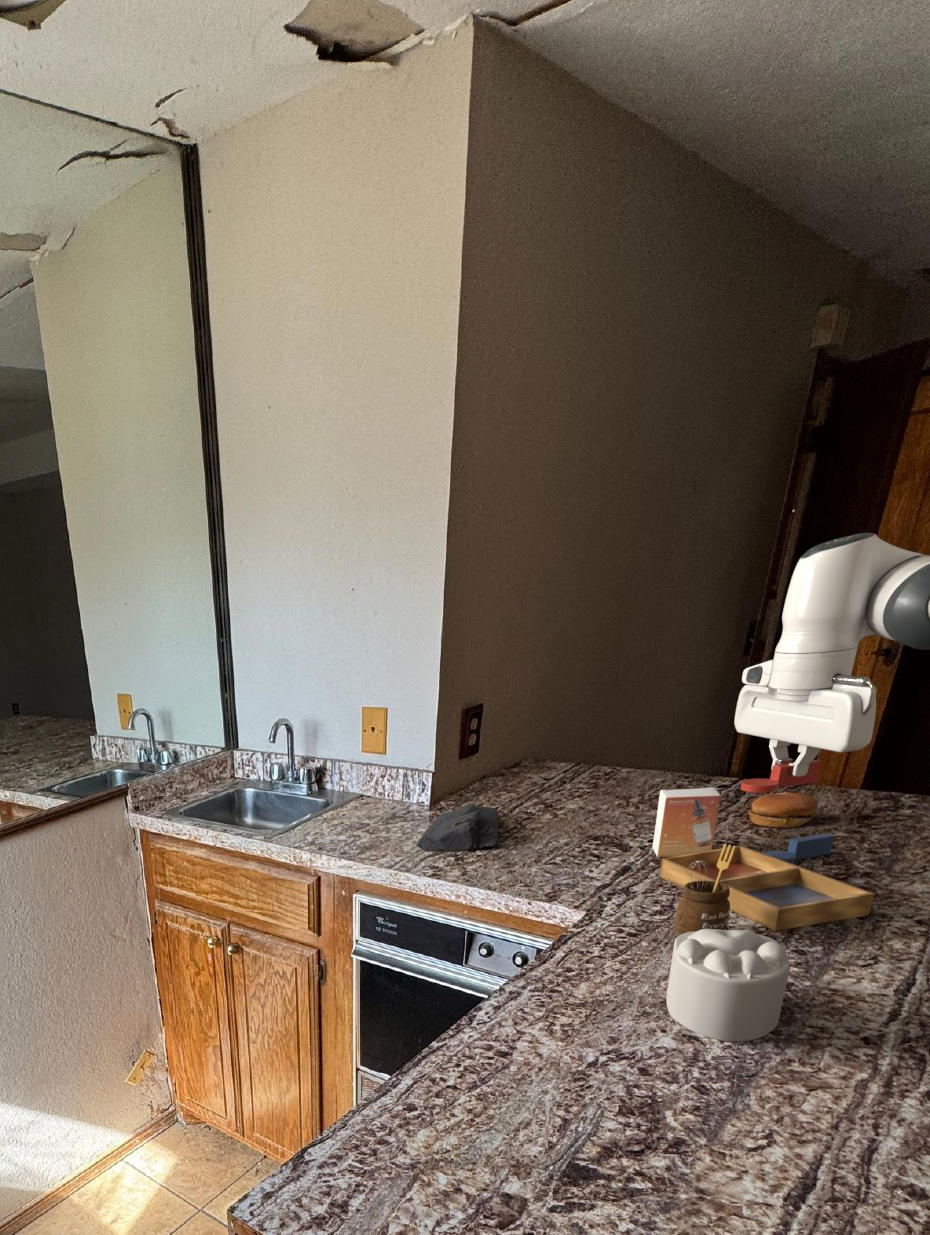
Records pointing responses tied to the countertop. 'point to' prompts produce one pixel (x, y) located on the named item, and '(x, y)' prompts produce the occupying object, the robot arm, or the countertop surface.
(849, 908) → the cutlery tray
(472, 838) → the dark slate chunk
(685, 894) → the utensil holder
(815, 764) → the red angular block
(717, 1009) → the lumpy-topped squat cylinder
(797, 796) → the burger
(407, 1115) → the countertop surface
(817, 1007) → the countertop surface
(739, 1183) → the countertop surface
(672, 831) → the small box
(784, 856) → the blue l-shaped block
